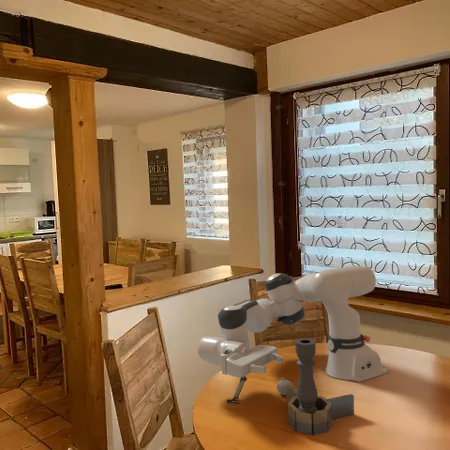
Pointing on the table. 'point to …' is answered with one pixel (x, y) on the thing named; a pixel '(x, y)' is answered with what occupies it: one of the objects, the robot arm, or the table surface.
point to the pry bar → (237, 391)
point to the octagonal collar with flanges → (317, 412)
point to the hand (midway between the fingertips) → (273, 365)
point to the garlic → (283, 386)
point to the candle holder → (306, 374)
